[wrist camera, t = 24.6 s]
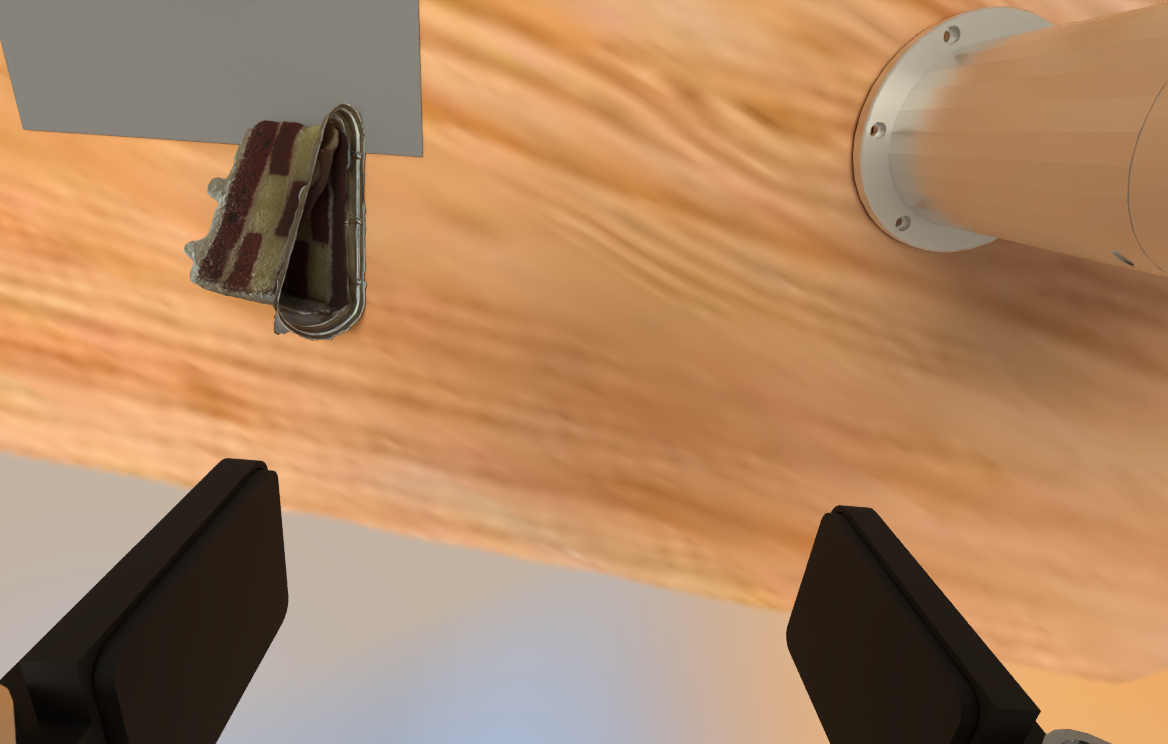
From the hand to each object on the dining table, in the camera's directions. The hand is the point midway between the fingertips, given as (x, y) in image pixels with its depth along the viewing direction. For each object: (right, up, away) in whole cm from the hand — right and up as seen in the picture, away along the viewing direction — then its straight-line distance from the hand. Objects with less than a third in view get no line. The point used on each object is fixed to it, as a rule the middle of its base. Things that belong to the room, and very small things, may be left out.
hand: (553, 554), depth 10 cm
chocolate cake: (-16, +12, +23) cm, 30 cm away
